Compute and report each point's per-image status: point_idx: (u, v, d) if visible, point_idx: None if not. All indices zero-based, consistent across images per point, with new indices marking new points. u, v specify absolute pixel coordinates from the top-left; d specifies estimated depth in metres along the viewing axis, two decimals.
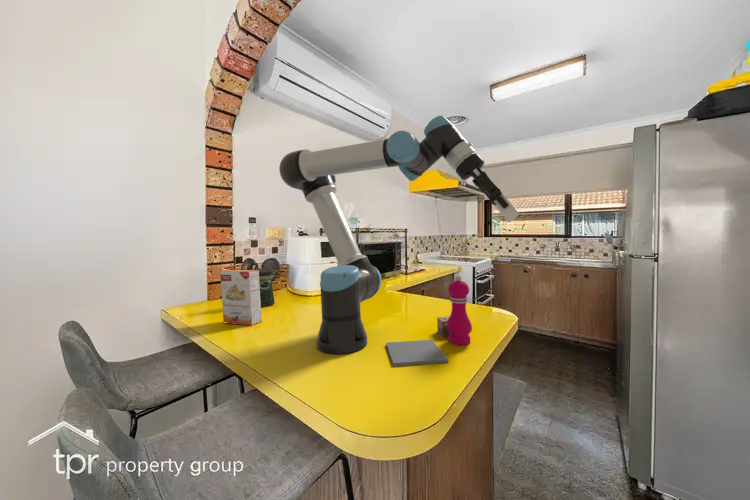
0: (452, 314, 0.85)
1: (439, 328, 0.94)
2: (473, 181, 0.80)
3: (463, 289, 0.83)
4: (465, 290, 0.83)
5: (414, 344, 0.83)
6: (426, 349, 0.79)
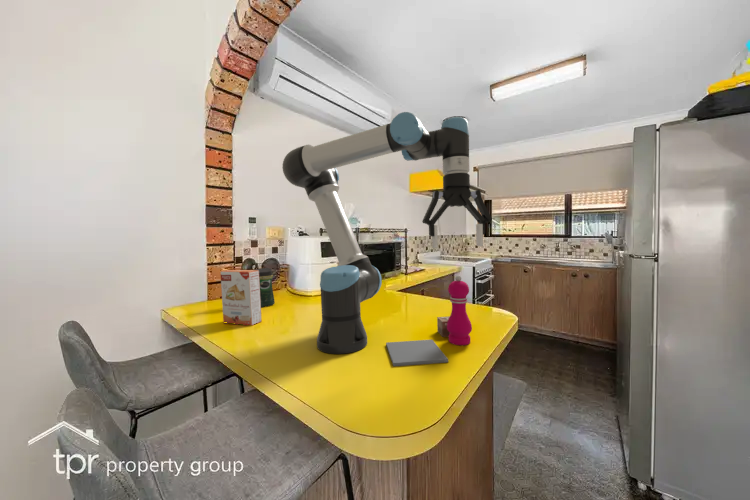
0: (452, 314, 0.85)
1: (439, 328, 0.94)
2: None
3: (463, 289, 0.83)
4: (465, 290, 0.83)
5: (414, 344, 0.83)
6: (426, 349, 0.79)
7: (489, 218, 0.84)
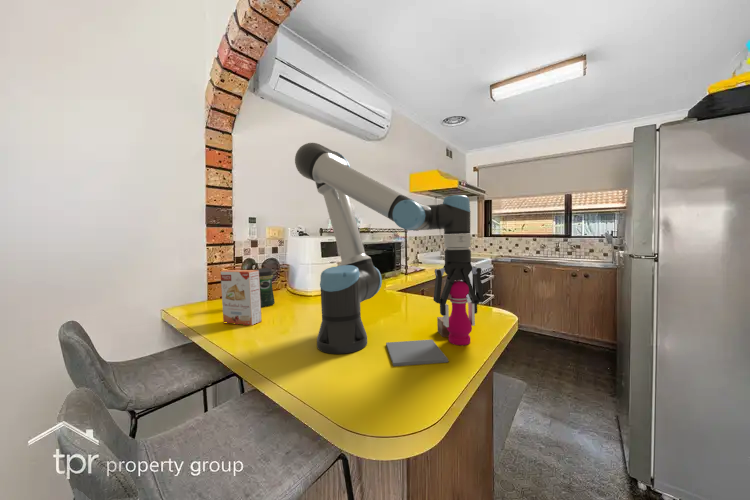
0: (452, 314, 0.85)
1: (439, 328, 0.94)
2: None
3: (463, 289, 0.83)
4: (465, 290, 0.83)
5: (414, 344, 0.83)
6: (426, 349, 0.79)
7: (481, 298, 0.85)
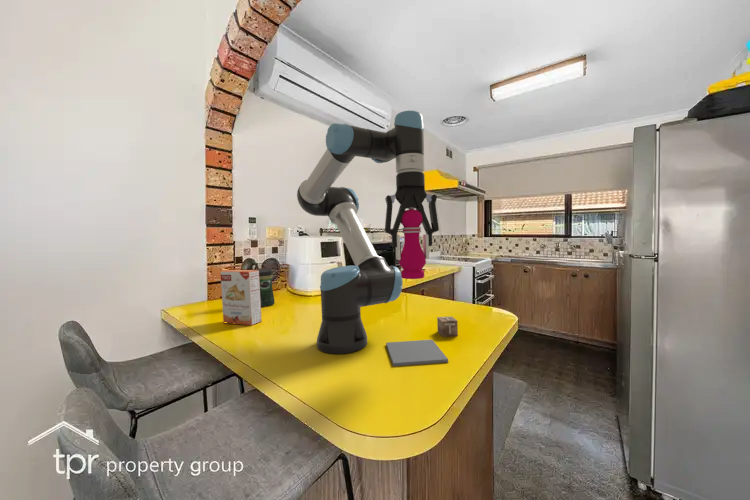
0: (404, 246, 0.77)
1: (439, 328, 0.94)
2: None
3: (415, 216, 0.74)
4: (417, 217, 0.74)
5: (414, 344, 0.83)
6: (426, 349, 0.79)
7: (436, 228, 0.77)
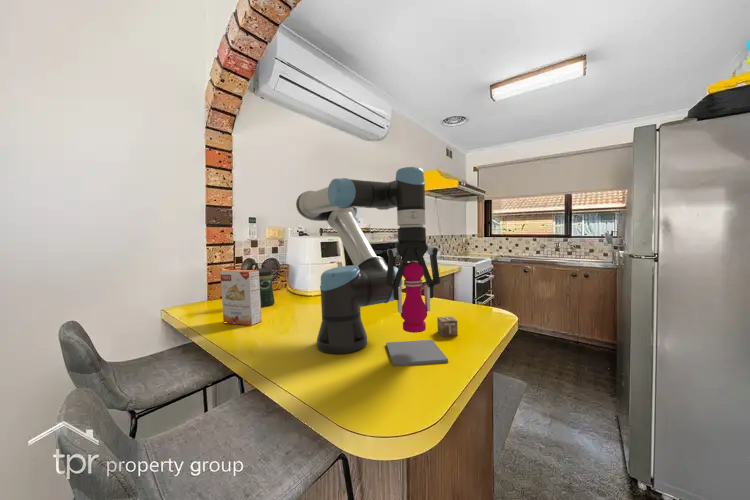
0: (405, 299, 0.77)
1: (439, 328, 0.94)
2: None
3: (416, 270, 0.75)
4: (418, 272, 0.75)
5: (414, 344, 0.83)
6: (426, 349, 0.79)
7: (437, 281, 0.77)
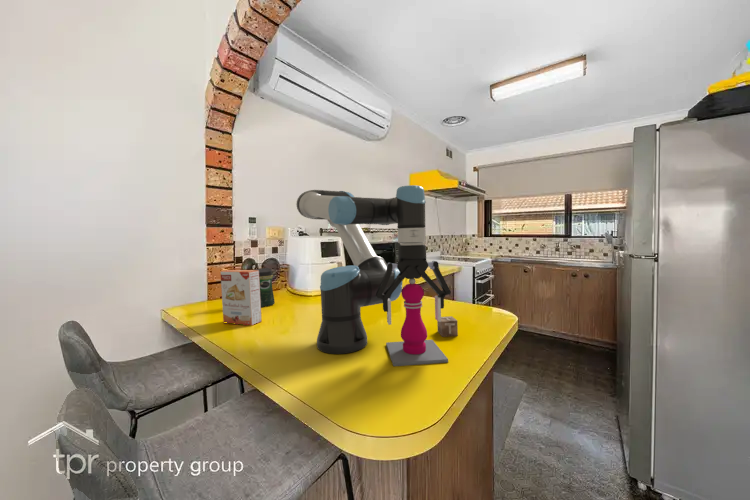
0: (405, 320, 0.78)
1: (439, 328, 0.94)
2: None
3: (416, 293, 0.75)
4: (418, 294, 0.75)
5: None
6: (426, 349, 0.79)
7: (448, 291, 0.78)
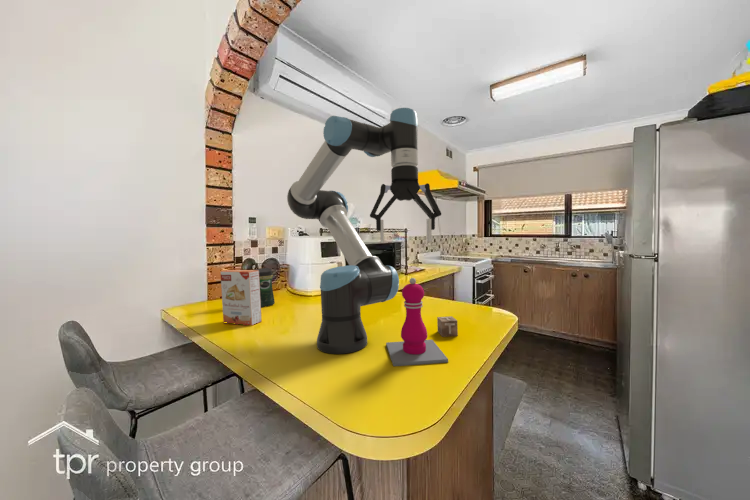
0: (406, 320, 0.78)
1: (439, 328, 0.94)
2: None
3: (416, 292, 0.75)
4: (418, 294, 0.75)
5: None
6: (426, 349, 0.79)
7: (438, 213, 0.81)
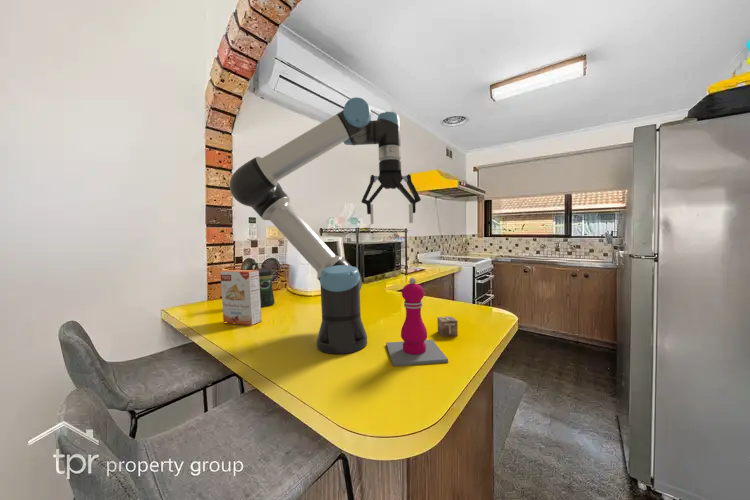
0: (406, 320, 0.78)
1: (439, 328, 0.94)
2: None
3: (416, 292, 0.75)
4: (418, 294, 0.75)
5: None
6: (426, 349, 0.79)
7: (418, 198, 0.98)
